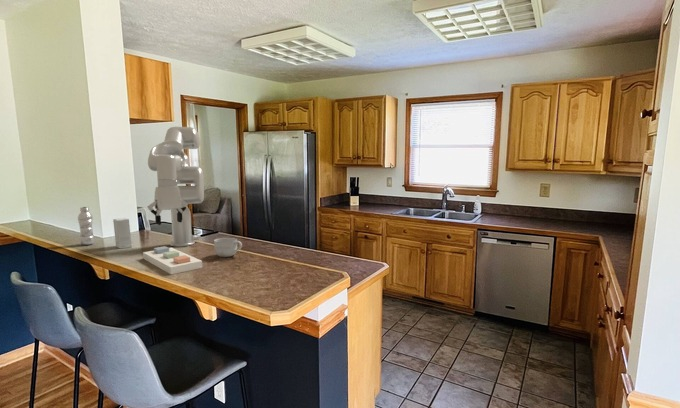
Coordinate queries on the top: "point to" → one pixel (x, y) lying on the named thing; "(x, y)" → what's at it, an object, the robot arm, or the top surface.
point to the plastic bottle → (86, 226)
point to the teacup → (226, 246)
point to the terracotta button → (181, 259)
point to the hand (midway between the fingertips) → (169, 223)
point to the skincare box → (122, 233)
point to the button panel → (169, 264)
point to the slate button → (161, 249)
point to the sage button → (170, 254)
